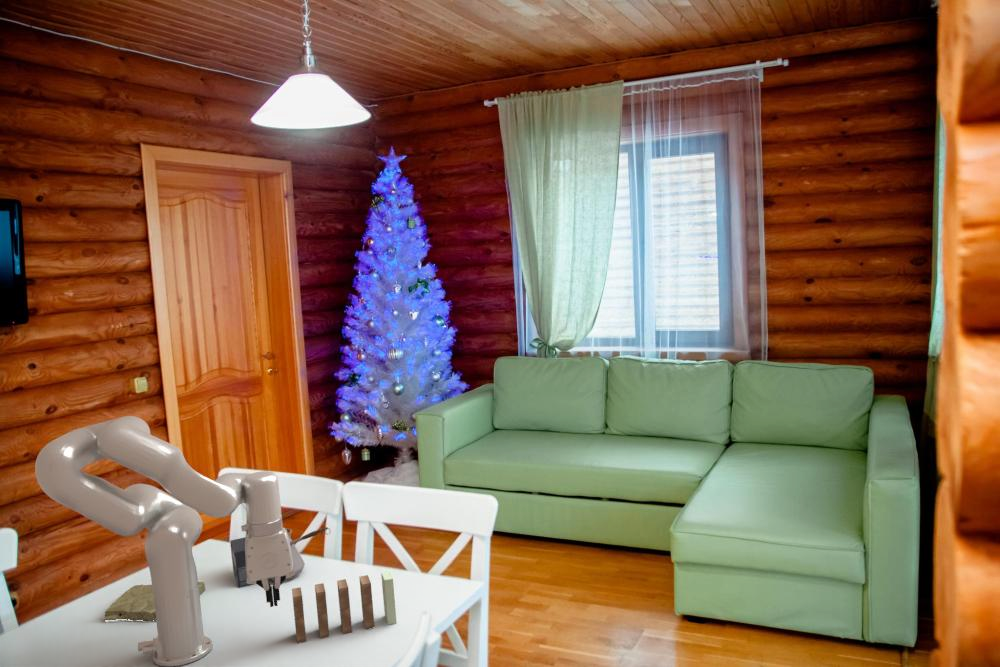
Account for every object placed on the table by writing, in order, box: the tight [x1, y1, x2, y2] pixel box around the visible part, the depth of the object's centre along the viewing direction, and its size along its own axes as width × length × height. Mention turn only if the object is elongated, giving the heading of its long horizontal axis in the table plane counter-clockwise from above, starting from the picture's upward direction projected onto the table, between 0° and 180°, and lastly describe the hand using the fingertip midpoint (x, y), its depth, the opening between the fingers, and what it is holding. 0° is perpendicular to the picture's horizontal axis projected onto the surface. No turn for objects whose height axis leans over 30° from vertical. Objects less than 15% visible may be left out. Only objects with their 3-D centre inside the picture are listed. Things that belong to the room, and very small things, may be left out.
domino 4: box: [358, 574, 375, 630], centre depth 190 cm, size 2×5×11 cm, turn 18°
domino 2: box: [314, 582, 330, 639], centre depth 187 cm, size 2×5×11 cm, turn 18°
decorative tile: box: [103, 581, 206, 622], centre depth 208 cm, size 19×20×4 cm
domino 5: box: [380, 570, 398, 626], centre depth 191 cm, size 2×5×11 cm, turn 17°
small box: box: [230, 536, 255, 589], centre depth 222 cm, size 11×6×10 cm, turn 25°
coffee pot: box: [268, 526, 331, 583], centre depth 221 cm, size 21×12×15 cm, turn 71°
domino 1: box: [291, 587, 307, 644], centre depth 185 cm, size 2×5×11 cm, turn 18°
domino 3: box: [336, 579, 353, 635], centre depth 188 cm, size 2×5×11 cm, turn 18°
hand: (273, 604), depth 183 cm, fingers closed
